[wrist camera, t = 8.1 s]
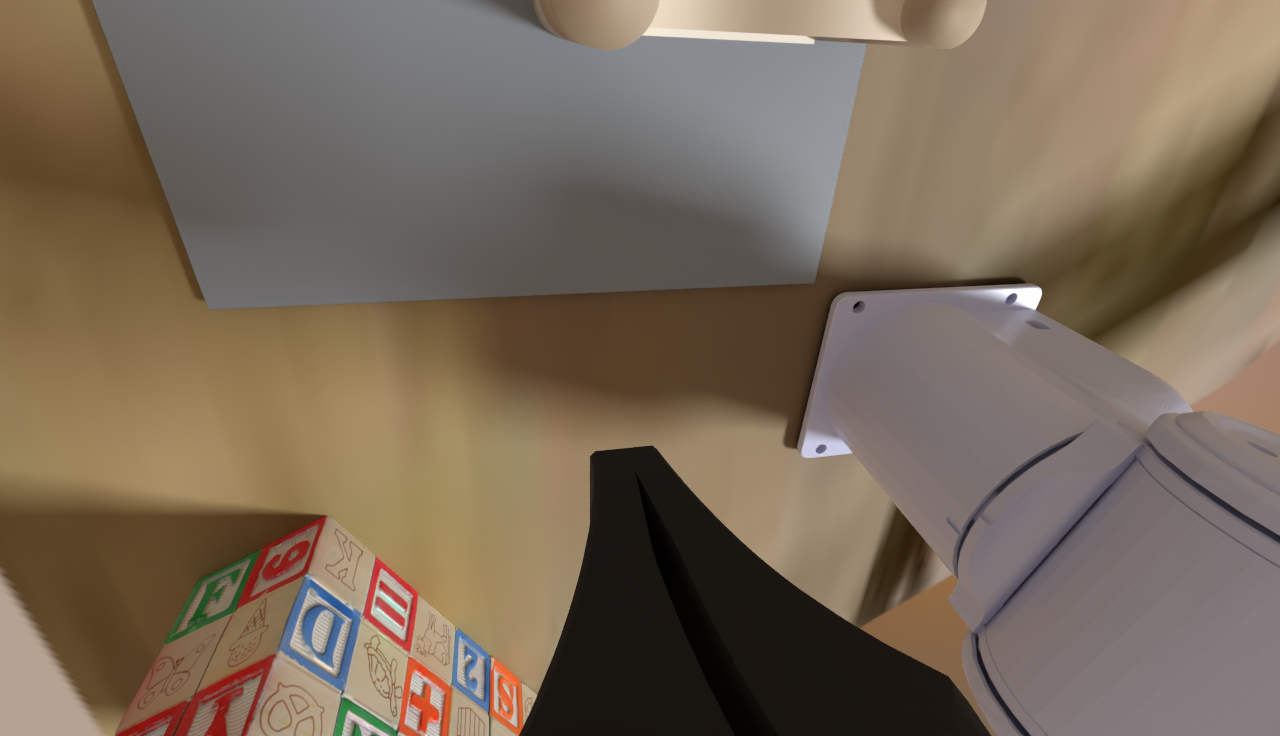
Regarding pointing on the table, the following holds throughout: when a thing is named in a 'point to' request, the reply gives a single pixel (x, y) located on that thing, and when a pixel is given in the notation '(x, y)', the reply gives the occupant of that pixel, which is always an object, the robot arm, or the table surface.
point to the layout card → (477, 149)
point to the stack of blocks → (320, 654)
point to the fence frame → (766, 19)
